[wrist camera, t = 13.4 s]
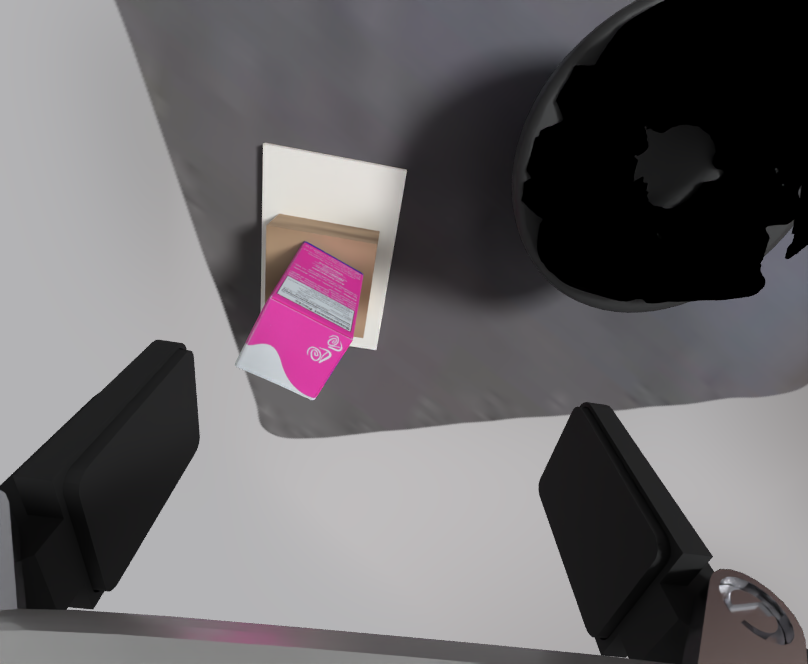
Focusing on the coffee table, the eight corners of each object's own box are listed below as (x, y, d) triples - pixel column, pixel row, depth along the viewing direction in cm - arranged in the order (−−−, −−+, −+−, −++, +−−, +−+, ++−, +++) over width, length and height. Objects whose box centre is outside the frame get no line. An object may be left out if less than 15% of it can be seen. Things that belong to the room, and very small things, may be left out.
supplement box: (336, 325, 38) (312, 405, 28) (275, 293, 36) (227, 365, 26) (368, 273, 36) (354, 341, 25) (304, 237, 34) (263, 293, 24)
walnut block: (279, 213, 37) (266, 225, 33) (379, 231, 38) (377, 244, 34) (276, 304, 41) (264, 323, 38) (366, 318, 42) (363, 338, 39)
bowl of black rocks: (786, 88, 33) (1165, 74, 17) (624, 298, 42) (768, 424, 25) (578, -48, 29) (806, -244, 13) (447, 215, 38) (482, 302, 21)
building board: (265, 142, 35) (263, 143, 34) (406, 169, 36) (406, 170, 35) (262, 328, 43) (260, 332, 43) (376, 346, 45) (376, 350, 44)
